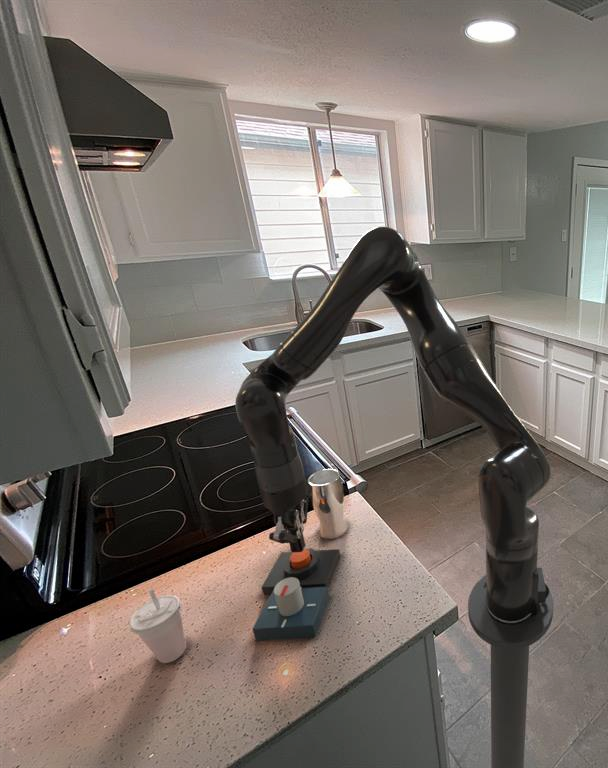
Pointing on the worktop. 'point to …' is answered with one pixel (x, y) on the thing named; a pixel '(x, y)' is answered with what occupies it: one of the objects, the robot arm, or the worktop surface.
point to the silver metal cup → (328, 502)
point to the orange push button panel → (304, 570)
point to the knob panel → (292, 617)
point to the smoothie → (160, 627)
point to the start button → (300, 559)
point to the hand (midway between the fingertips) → (298, 549)
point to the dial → (289, 596)
